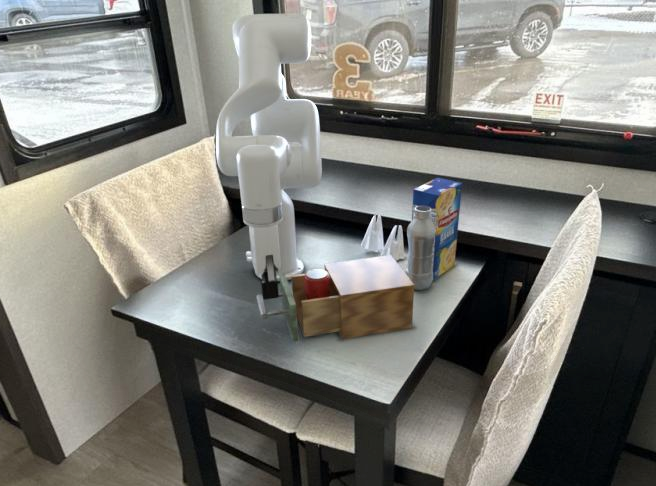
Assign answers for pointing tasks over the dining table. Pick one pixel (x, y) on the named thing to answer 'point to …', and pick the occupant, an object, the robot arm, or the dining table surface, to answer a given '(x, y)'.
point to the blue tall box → (441, 219)
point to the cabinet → (372, 295)
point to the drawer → (305, 309)
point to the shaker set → (375, 240)
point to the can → (317, 284)
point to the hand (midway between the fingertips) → (270, 296)
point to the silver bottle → (420, 248)
